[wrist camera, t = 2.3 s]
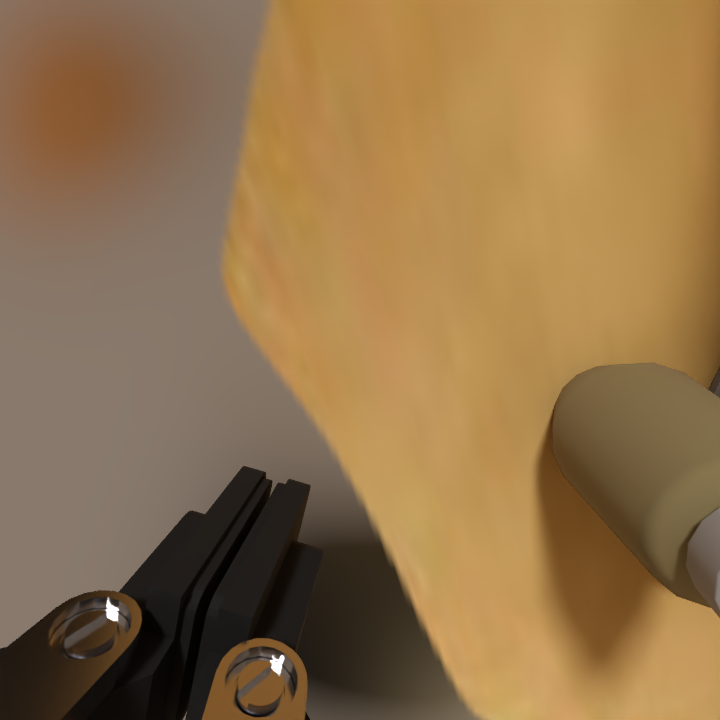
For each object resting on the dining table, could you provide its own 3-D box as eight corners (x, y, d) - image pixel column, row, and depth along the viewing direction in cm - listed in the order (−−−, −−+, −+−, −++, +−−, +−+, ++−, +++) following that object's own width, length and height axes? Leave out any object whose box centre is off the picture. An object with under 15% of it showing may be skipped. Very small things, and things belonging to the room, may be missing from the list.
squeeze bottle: (684, 456, 27) (1171, 844, 9) (547, 482, 28) (752, 857, 11) (666, 330, 25) (1220, 522, 8) (521, 364, 27) (715, 589, 9)
